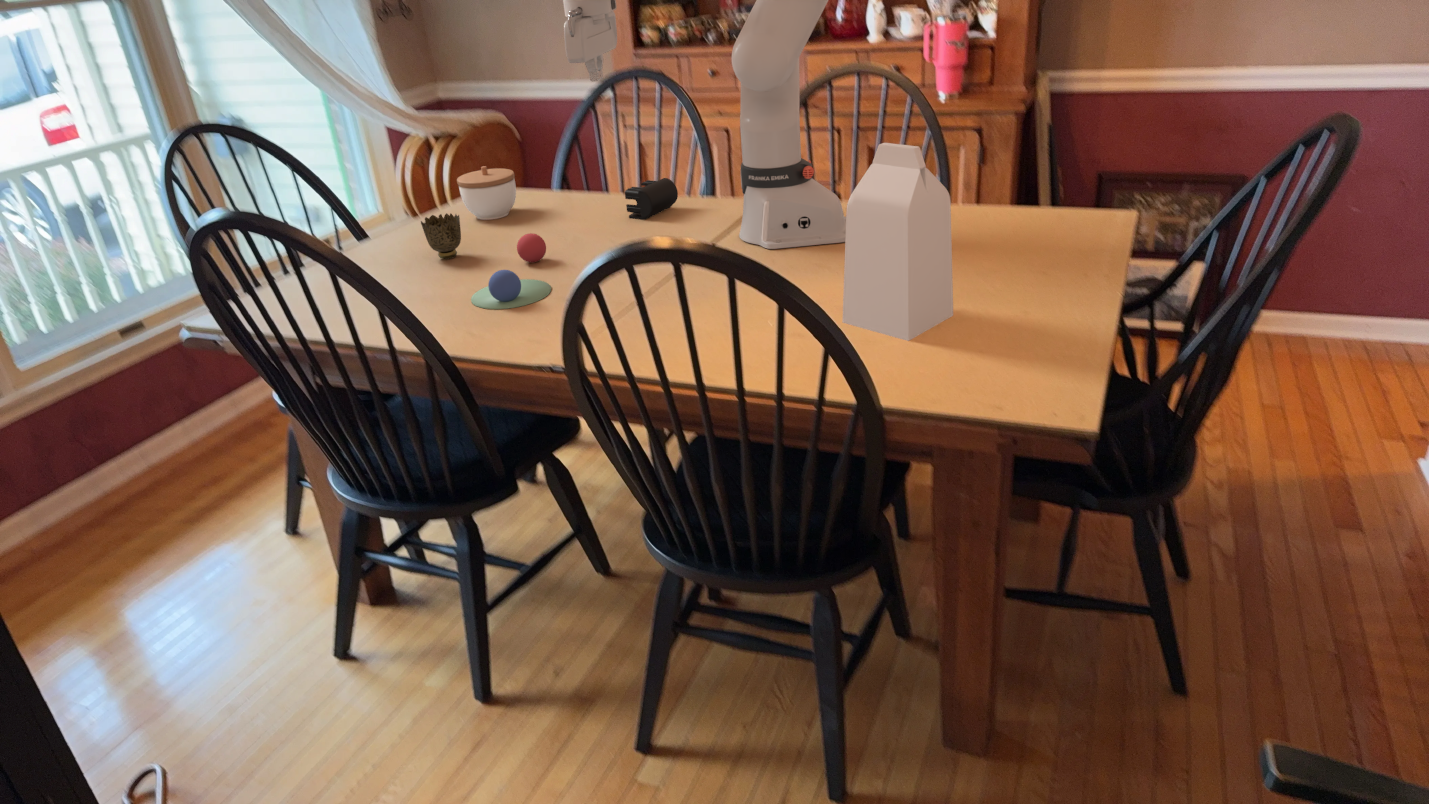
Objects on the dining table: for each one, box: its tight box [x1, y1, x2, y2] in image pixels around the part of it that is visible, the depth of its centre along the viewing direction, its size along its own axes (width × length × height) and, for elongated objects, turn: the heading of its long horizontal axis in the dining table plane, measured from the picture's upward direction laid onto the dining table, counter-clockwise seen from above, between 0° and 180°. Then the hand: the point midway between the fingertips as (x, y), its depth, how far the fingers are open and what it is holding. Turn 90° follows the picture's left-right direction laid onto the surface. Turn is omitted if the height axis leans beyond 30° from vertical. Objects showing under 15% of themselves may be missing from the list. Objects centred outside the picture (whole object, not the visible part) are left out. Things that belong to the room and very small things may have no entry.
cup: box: [420, 213, 462, 260], centre depth 188 cm, size 8×7×8 cm
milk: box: [842, 142, 954, 342], centre depth 138 cm, size 12×12×26 cm
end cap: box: [624, 177, 679, 221], centre depth 205 cm, size 10×7×7 cm
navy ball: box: [487, 269, 521, 302], centre depth 164 cm, size 6×6×6 cm
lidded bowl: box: [456, 165, 517, 221], centre depth 213 cm, size 13×13×11 cm
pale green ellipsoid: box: [470, 278, 552, 310], centre depth 168 cm, size 14×14×1 cm
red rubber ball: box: [516, 232, 547, 263], centre depth 182 cm, size 6×6×6 cm
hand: (596, 80), depth 189 cm, fingers closed
